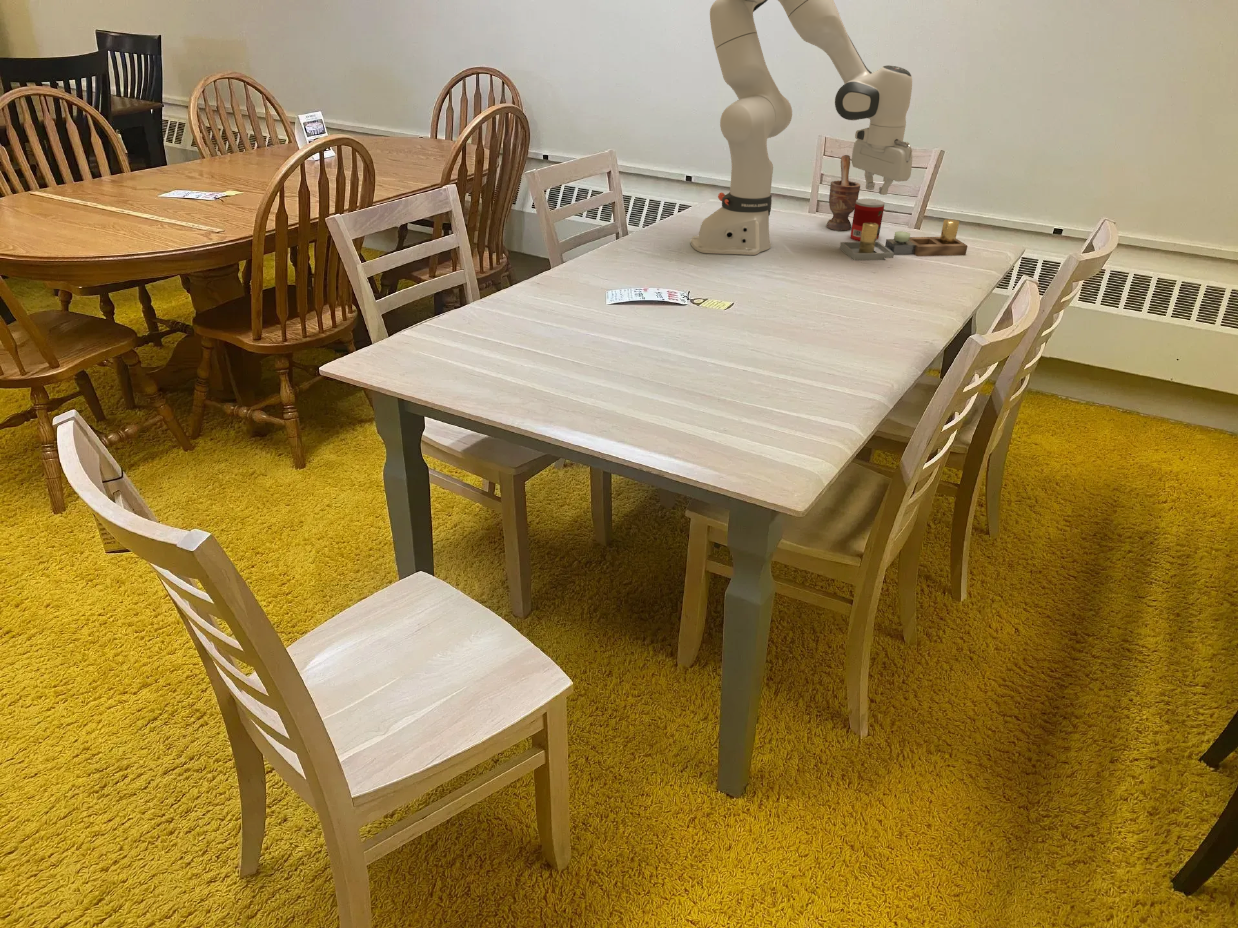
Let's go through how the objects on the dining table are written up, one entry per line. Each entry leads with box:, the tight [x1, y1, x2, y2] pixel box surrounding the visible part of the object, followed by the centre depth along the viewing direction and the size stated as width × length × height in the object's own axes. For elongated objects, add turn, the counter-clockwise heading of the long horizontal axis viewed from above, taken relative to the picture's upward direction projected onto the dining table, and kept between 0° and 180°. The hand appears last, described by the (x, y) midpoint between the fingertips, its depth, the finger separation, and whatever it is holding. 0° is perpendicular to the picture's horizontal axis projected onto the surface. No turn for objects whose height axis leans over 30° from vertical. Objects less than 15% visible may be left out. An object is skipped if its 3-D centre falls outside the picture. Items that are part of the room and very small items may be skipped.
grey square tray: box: [839, 240, 895, 261], centre depth 228 cm, size 11×11×2 cm
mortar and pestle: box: [826, 154, 861, 232], centre depth 249 cm, size 12×9×20 cm
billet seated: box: [939, 218, 960, 244], centre depth 228 cm, size 4×4×8 cm
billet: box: [858, 222, 878, 253], centre depth 226 cm, size 4×4×8 cm
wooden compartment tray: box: [909, 236, 968, 257], centre depth 230 cm, size 14×9×4 cm, turn 96°
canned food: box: [850, 198, 885, 242], centre depth 239 cm, size 8×8×11 cm
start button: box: [893, 230, 911, 244], centre depth 228 cm, size 4×4×5 cm
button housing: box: [884, 238, 916, 256], centre depth 229 cm, size 6×6×4 cm
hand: (876, 192), depth 220 cm, fingers open, 4 cm apart
